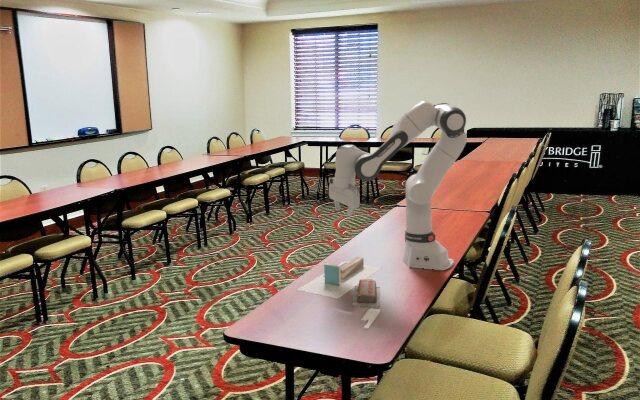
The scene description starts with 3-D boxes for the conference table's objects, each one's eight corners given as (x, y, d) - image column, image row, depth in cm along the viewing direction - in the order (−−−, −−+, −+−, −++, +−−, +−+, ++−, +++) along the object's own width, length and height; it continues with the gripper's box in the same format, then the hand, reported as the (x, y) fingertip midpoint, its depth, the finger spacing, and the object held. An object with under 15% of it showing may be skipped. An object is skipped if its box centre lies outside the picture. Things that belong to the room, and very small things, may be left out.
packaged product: (354, 277, 207) (379, 278, 206) (354, 289, 208) (379, 289, 207) (351, 296, 189) (379, 296, 188) (352, 308, 191) (379, 308, 189)
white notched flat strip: (353, 328, 175) (353, 325, 175) (367, 310, 189) (367, 307, 188) (368, 330, 173) (368, 327, 173) (381, 312, 187) (381, 309, 186)
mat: (381, 268, 228) (381, 267, 228) (337, 299, 197) (337, 298, 197) (344, 262, 239) (344, 261, 238) (296, 290, 207) (296, 289, 207)
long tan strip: (363, 266, 231) (363, 257, 230) (343, 279, 216) (343, 270, 215) (357, 265, 233) (357, 256, 232) (337, 278, 218) (336, 269, 217)
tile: (340, 284, 211) (340, 266, 209) (339, 285, 210) (338, 267, 208) (326, 281, 214) (325, 263, 213) (324, 282, 213) (323, 264, 212)
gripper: (364, 186, 219) (362, 218, 222) (338, 177, 236) (337, 206, 239) (351, 187, 216) (350, 219, 219) (326, 178, 233) (325, 208, 236)
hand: (343, 213), depth 229 cm, fingers open, 8 cm apart
